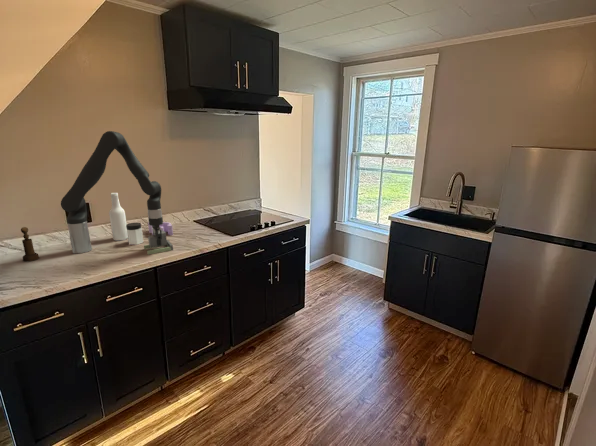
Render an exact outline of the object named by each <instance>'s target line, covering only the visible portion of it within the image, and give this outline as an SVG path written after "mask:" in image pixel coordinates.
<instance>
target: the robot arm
mask: <svg viewBox="0 0 596 446" xmlns="http://www.w3.org/2000/svg"><path fill="white" fill-rule="evenodd" d="M128 143H129V142H128V141H127V139H126V138H125V136H124V135H123V134H122V133H120V132H117V131H112V130H108V131H105V132H104V133H103V134H102V135H101V136H100V139H99V141H98V143H97V145H96V147H95V149H94V151H93V153H92V154H91V155H90V157H89V159H88V160H87V161H86V163H85V165H83V168H82V169H81V171H80V173H79V174H78V175H77V177H76V179H75V181H74V182H73V185H72V186H71V187H70V188H69V190H68V191H67V192H66V194H64V196H63V197H62V198H61V200H60V206H61V209H62V210H63V211H64V212H67V213H68V214H67V217H66V223H67V228H68V234H69V240H70V245H71V249H72V250H71V251H72V254H81V253H87V252H90V251H92V250H93V249H92V242H91V237H90V231H89V225H88V210H87V208H88V207H87V202H86V199H85V196H86V194H87V193H88V192H89V191H91V189H92V188H93V187H94V186H95V185H96V184H97V183H98V182H99V180H101V178H102V176H103V175H104V173H105V171H106V167H107V161H108V159H109V157H110V155H111V154H112V153H113V152H114V151H117V153H119V155H120V156H121V157H122V158H123V160H124V161H125V164H126V166H127V168H128V170H129V171H130V173H131V174H132V175H133V177H134V178H135V179H136V180H137V183H138V184H139V186H140V188H141V190H142V192H143V193H144V194H146V195H147V196H149V197H148V198H147V201H146V206H147V217H148V218H147V220H148V222H149V225H151V226H152V229H153V235H155V236H156V240H157V246H160V247H162V246H161V239H162V233H161V227H160V226H159V225H162V224H163V222H164V219H163V211H162V205H161V198H162V186H161V184H160V183H159V182H158V181H156V180H153V181H151V180H150V174H149V172H148V171H147V169H146V168H145V167H144V165H143V164H142V163H141V162H140V160H139V159H138V158H137V157H136V155H135V153H134V151H133V150H132V148H131V146H130V145H129V144H128ZM158 236H160V237H158Z"/></svg>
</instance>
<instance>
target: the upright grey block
mask: <svg viewBox="0 0 596 446" xmlns="http://www.w3.org/2000/svg"><path fill="white" fill-rule="evenodd" d="M161 233H162V239H161V246H160V247H166V246H167V240H168V239H167V232H165V231H161ZM158 237H160V236H158ZM147 241H148V245H149V246H150V248H149V249H154V248H153V247H155V248H159V246H157V240H156V236H155V235H152V234H151V235H150V234H149V235H147ZM165 245H166V246H165Z"/></svg>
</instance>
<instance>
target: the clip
mask: <svg viewBox="0 0 596 446" xmlns="http://www.w3.org/2000/svg"><path fill="white" fill-rule="evenodd" d="M159 226H160V227H161V231H165V233H167V235H168V236H174V230H173V229H174V228H173V224H172V223H171V222H168V221H163V224H162V225H159ZM147 227H148V233H150V234H151V235H153V229H152V226H151V225H149V221H148V222H147Z"/></svg>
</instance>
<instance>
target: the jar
mask: <svg viewBox="0 0 596 446" xmlns="http://www.w3.org/2000/svg"><path fill="white" fill-rule="evenodd" d="M126 228H127V236H128V238H127V240H128V244H129V246H130V245H133V246H134V245H140V244H142V243H144V236H143V235H144V234H143V229H142V228H143V227H142V223H141V222H130V223H127V225H126Z"/></svg>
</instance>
